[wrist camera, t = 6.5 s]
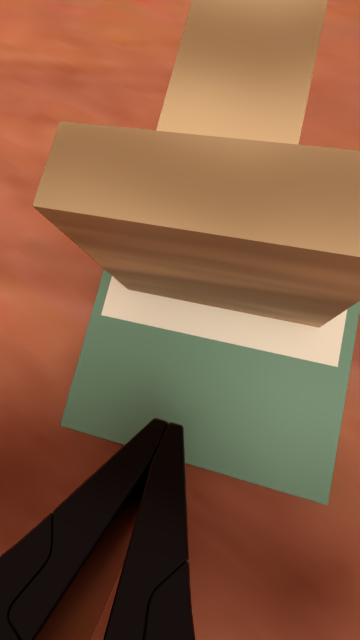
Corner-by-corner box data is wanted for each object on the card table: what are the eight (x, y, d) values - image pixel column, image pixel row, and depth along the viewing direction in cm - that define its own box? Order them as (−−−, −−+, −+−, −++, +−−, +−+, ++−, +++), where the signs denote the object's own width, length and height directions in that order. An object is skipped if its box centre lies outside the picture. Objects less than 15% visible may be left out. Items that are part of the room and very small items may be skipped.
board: (324, 501, 14) (327, 505, 13) (64, 424, 16) (59, 425, 16) (380, 164, 16) (384, 157, 16) (144, 140, 18) (142, 133, 18)
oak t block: (319, 327, 15) (413, 265, 7) (128, 289, 16) (32, 205, 9) (348, 163, 16) (457, -47, 8) (167, 144, 18) (113, -44, 10)
